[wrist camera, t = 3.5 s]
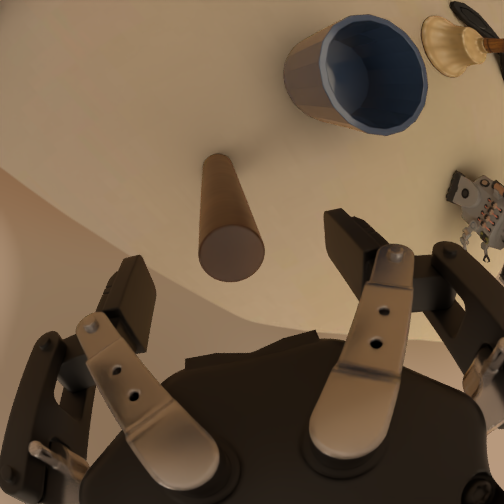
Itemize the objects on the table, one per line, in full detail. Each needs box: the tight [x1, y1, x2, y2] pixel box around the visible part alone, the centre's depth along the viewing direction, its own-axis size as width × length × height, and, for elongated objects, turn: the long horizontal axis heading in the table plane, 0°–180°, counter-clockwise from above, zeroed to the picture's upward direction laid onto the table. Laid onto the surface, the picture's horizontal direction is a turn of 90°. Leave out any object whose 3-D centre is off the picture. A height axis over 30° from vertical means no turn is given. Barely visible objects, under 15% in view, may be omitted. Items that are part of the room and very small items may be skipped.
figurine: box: [446, 171, 504, 284], centre depth 26 cm, size 9×12×15 cm
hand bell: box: [422, 16, 504, 77], centre depth 14 cm, size 8×8×16 cm
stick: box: [198, 154, 265, 282], centre depth 19 cm, size 3×3×16 cm
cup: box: [284, 14, 428, 136], centre depth 19 cm, size 9×9×9 cm
